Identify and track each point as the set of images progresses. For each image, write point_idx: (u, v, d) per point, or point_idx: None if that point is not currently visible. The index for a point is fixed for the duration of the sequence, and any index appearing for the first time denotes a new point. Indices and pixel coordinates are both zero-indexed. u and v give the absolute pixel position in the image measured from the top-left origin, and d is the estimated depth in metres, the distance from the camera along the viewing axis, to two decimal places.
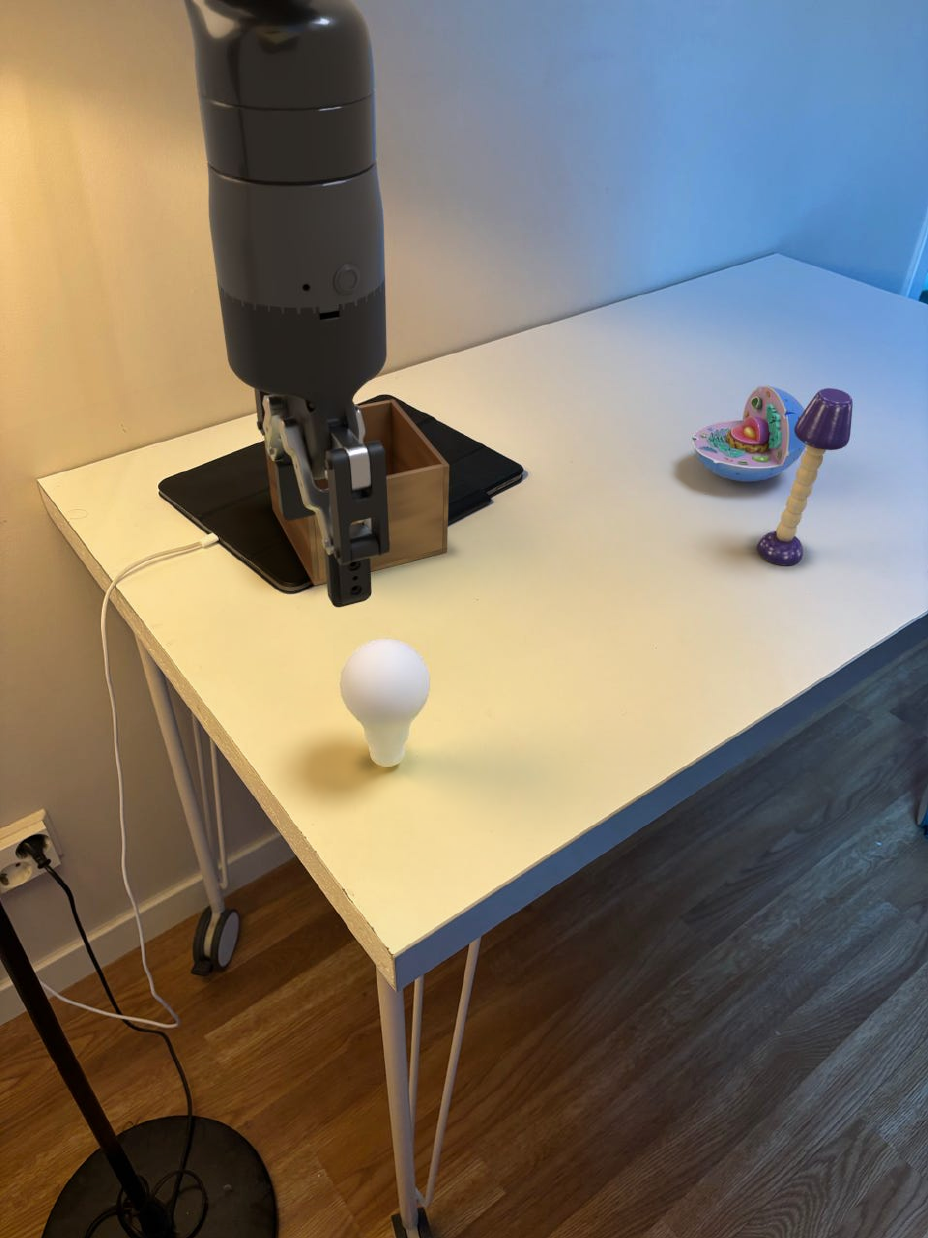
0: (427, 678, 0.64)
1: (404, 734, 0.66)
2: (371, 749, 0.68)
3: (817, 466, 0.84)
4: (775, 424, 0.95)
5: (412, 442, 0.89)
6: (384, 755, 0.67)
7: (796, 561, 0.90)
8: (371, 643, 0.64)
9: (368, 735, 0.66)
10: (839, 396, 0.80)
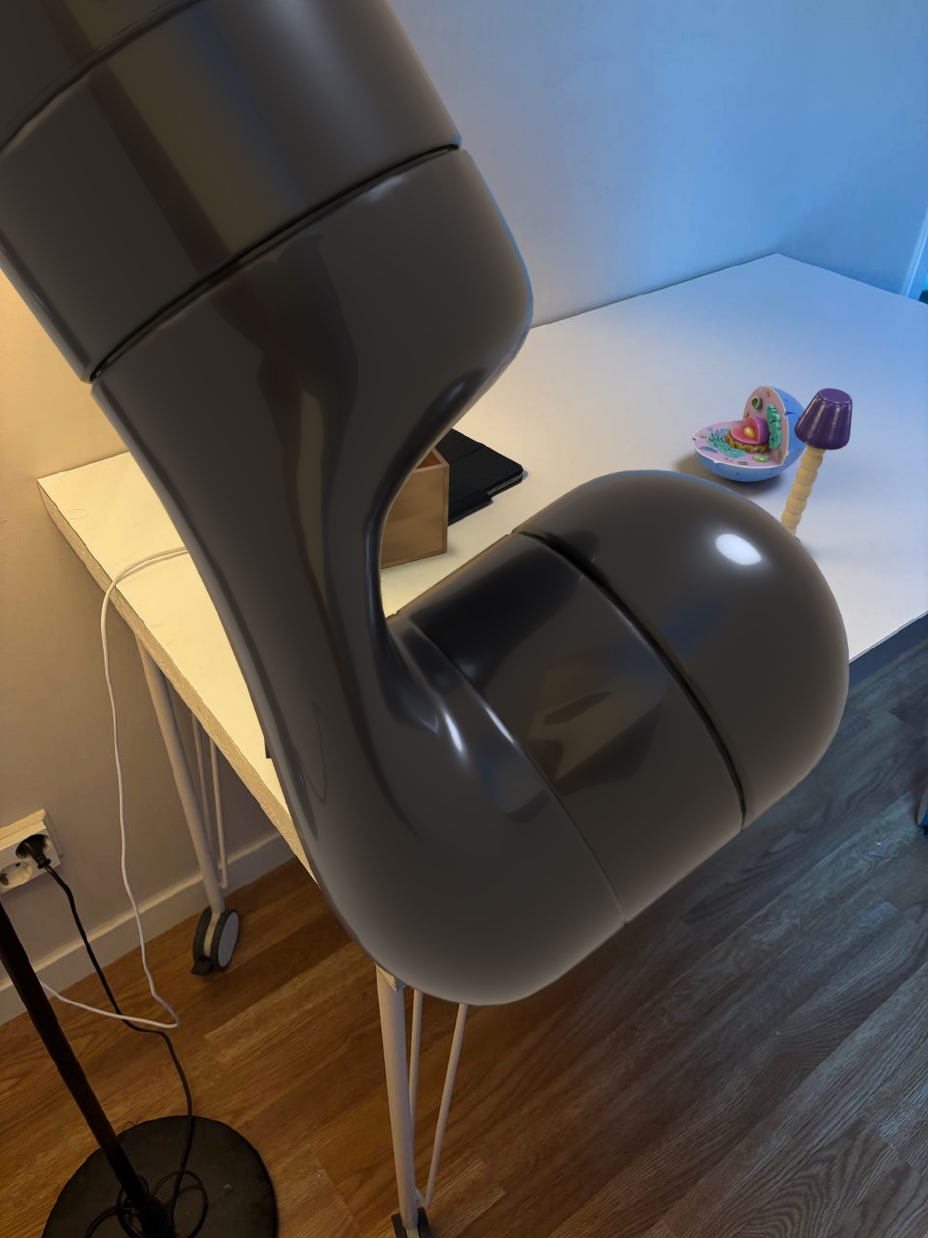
0: None
1: None
2: None
3: (817, 466, 0.84)
4: (775, 424, 0.95)
5: None
6: None
7: None
8: None
9: None
10: (839, 396, 0.80)
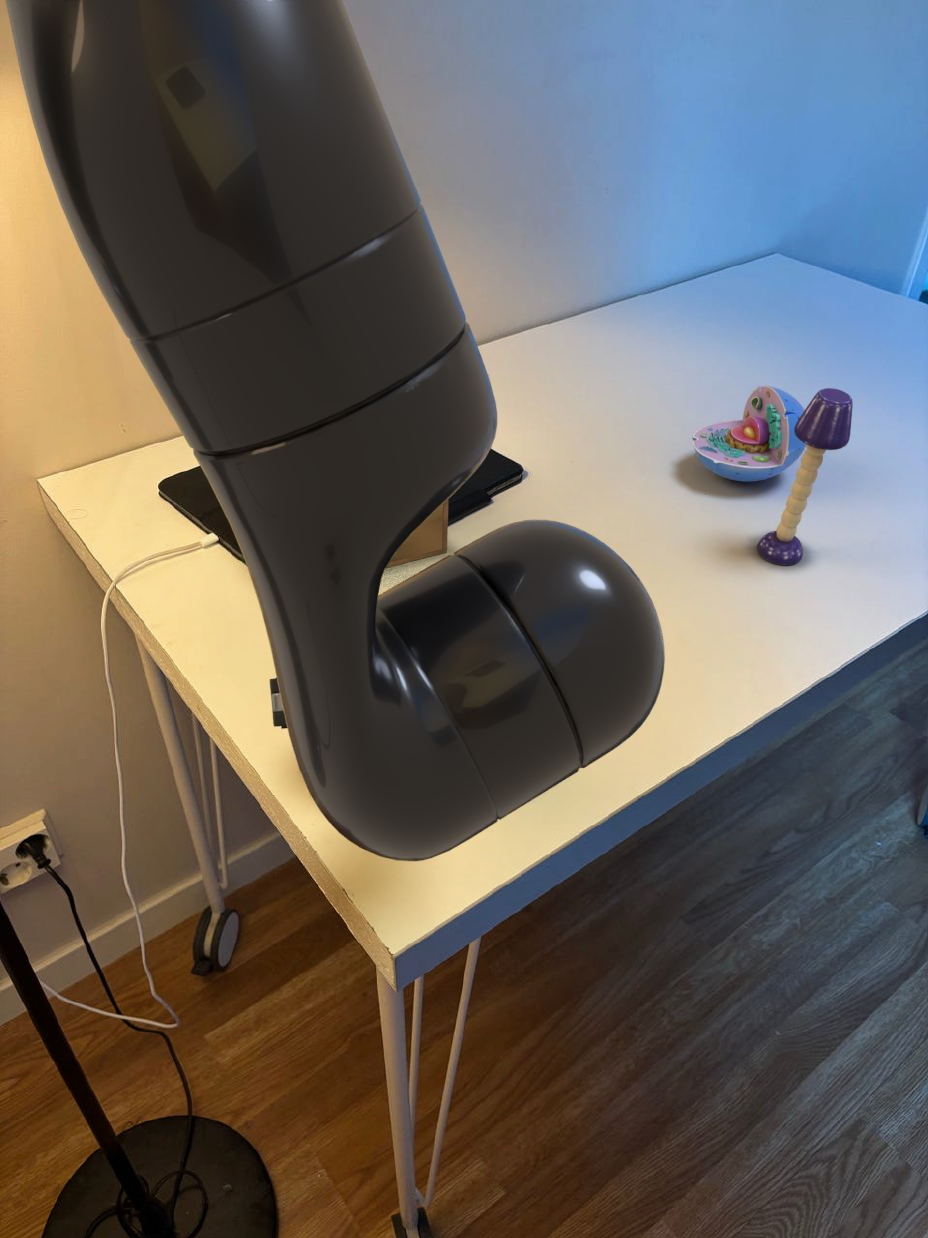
0: None
1: None
2: None
3: (817, 466, 0.84)
4: (775, 424, 0.95)
5: None
6: None
7: (796, 561, 0.90)
8: None
9: None
10: (839, 396, 0.80)
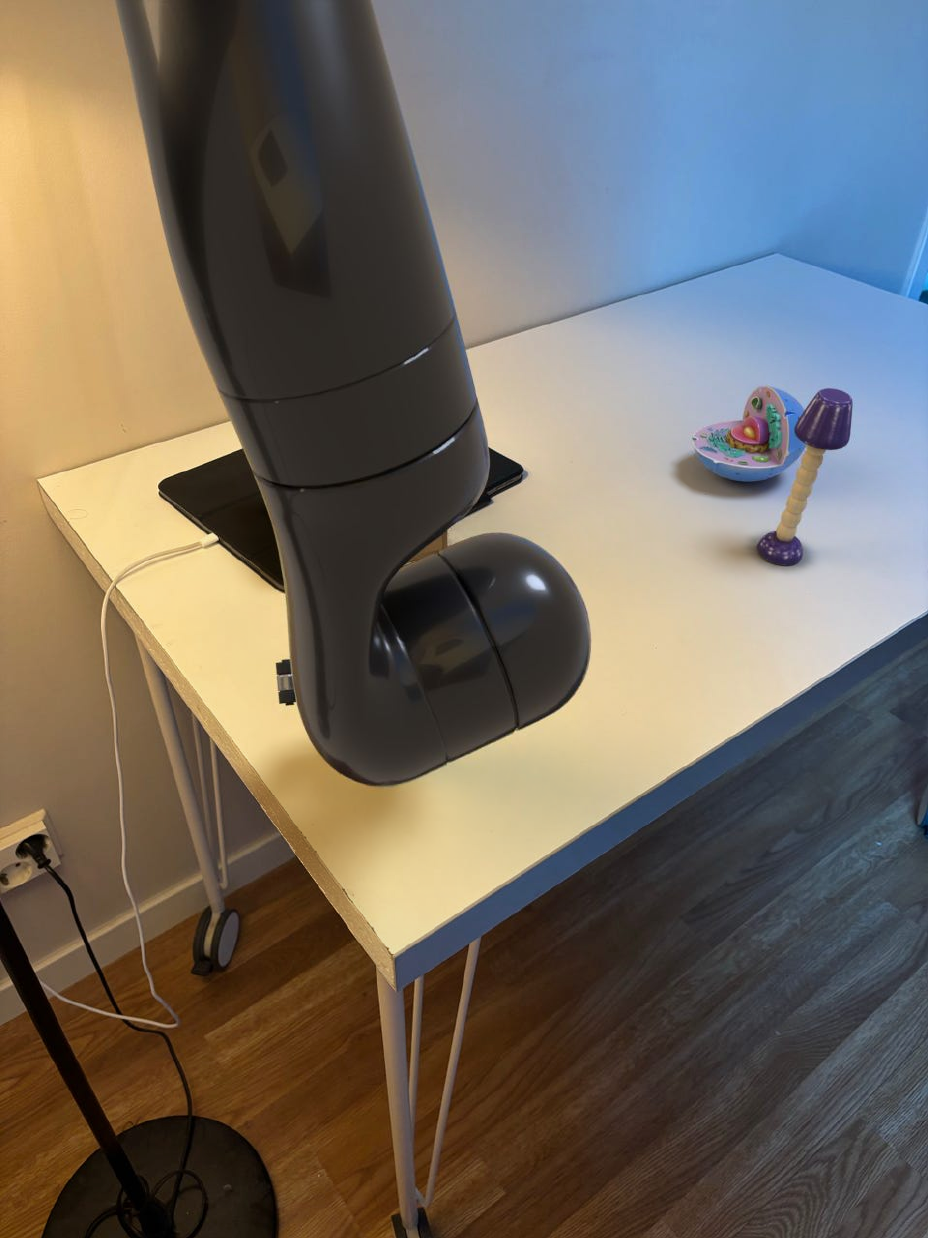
0: None
1: None
2: None
3: (817, 466, 0.84)
4: (775, 424, 0.95)
5: None
6: None
7: (796, 561, 0.90)
8: None
9: None
10: (839, 396, 0.80)
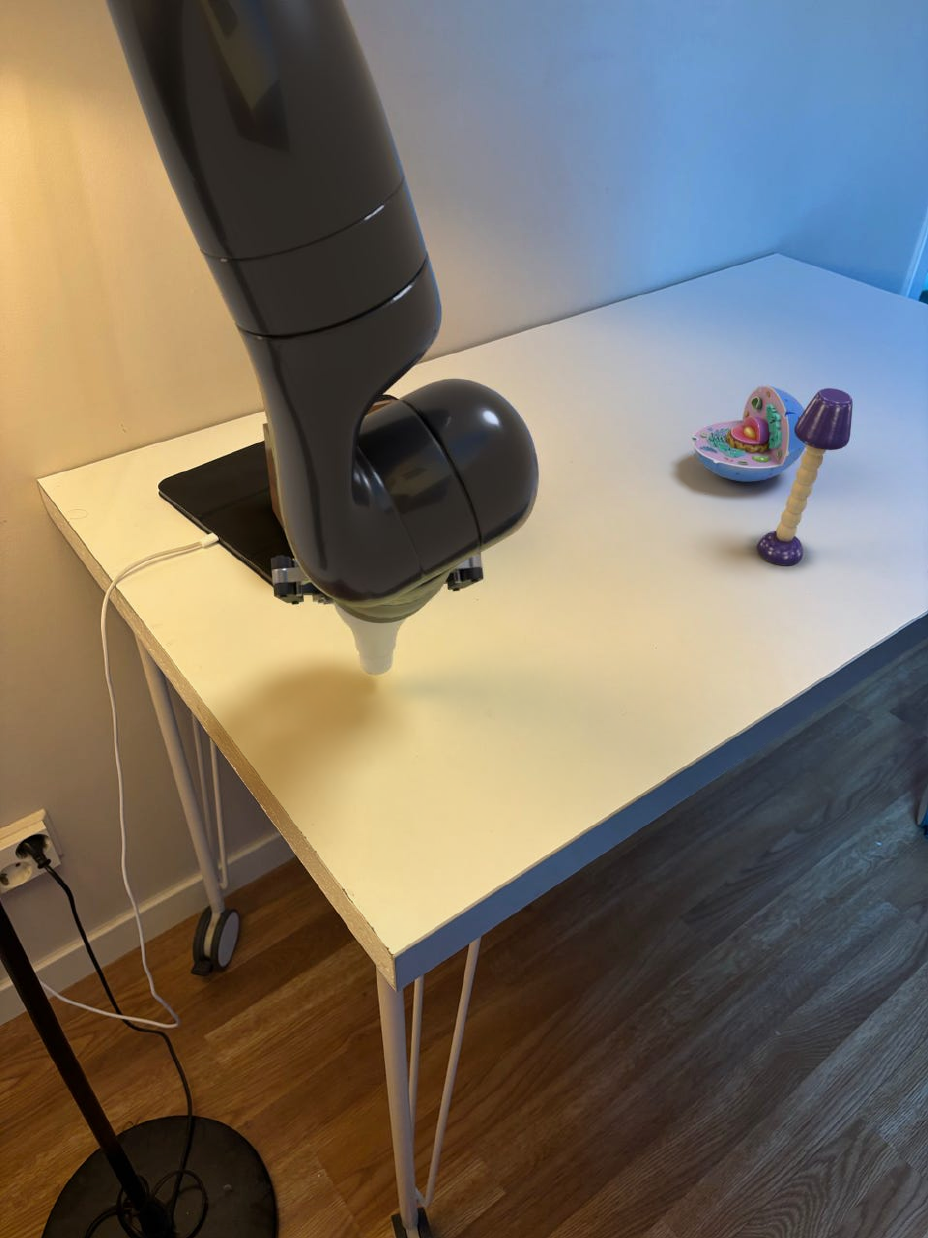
0: None
1: (391, 641, 0.71)
2: (360, 658, 0.73)
3: (817, 466, 0.84)
4: (775, 424, 0.95)
5: None
6: (372, 662, 0.72)
7: (796, 561, 0.90)
8: None
9: (358, 642, 0.71)
10: (839, 396, 0.80)
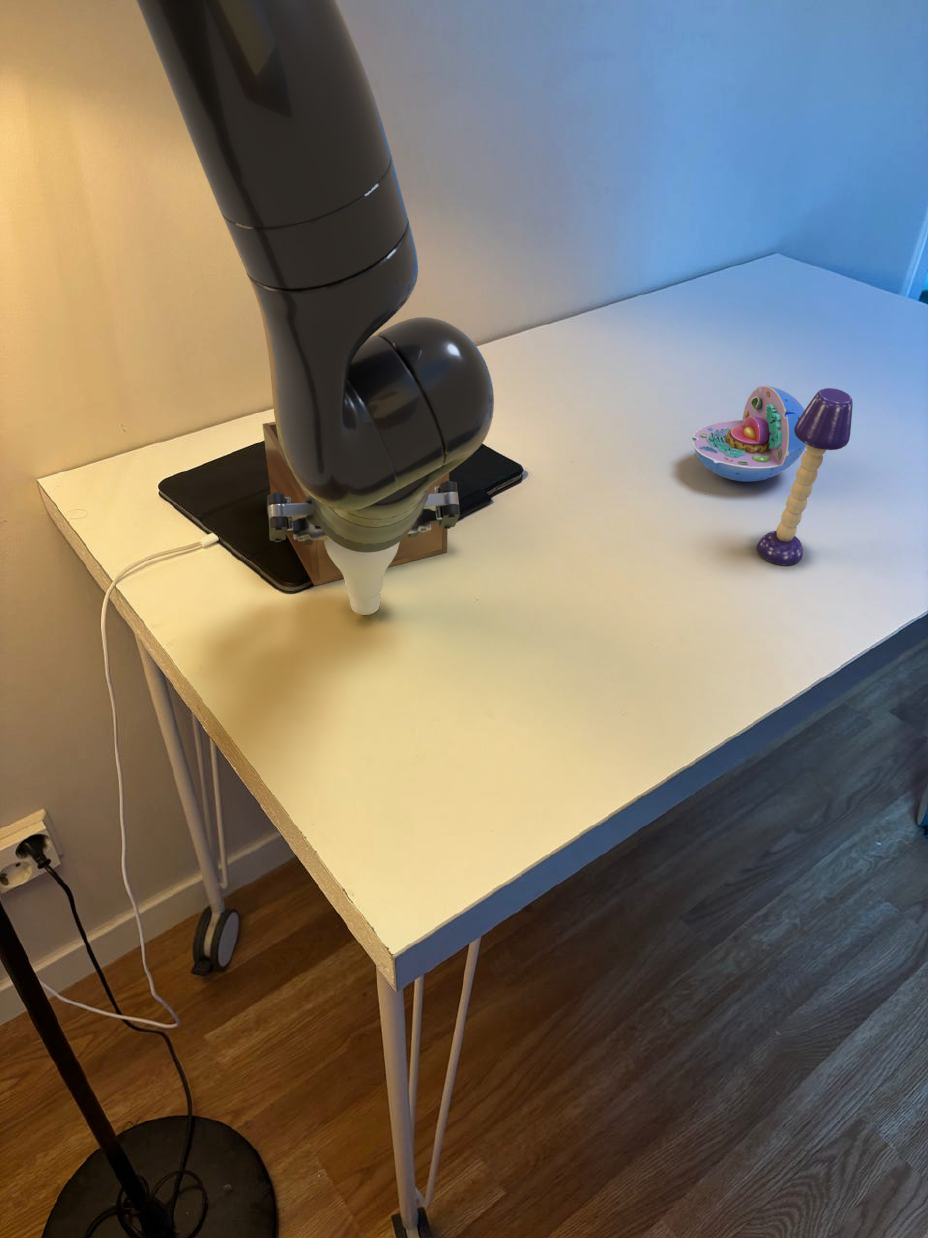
0: None
1: (378, 583, 0.79)
2: (350, 599, 0.81)
3: (817, 466, 0.84)
4: (775, 424, 0.95)
5: None
6: (361, 602, 0.80)
7: (796, 561, 0.90)
8: None
9: (348, 584, 0.79)
10: (839, 396, 0.80)
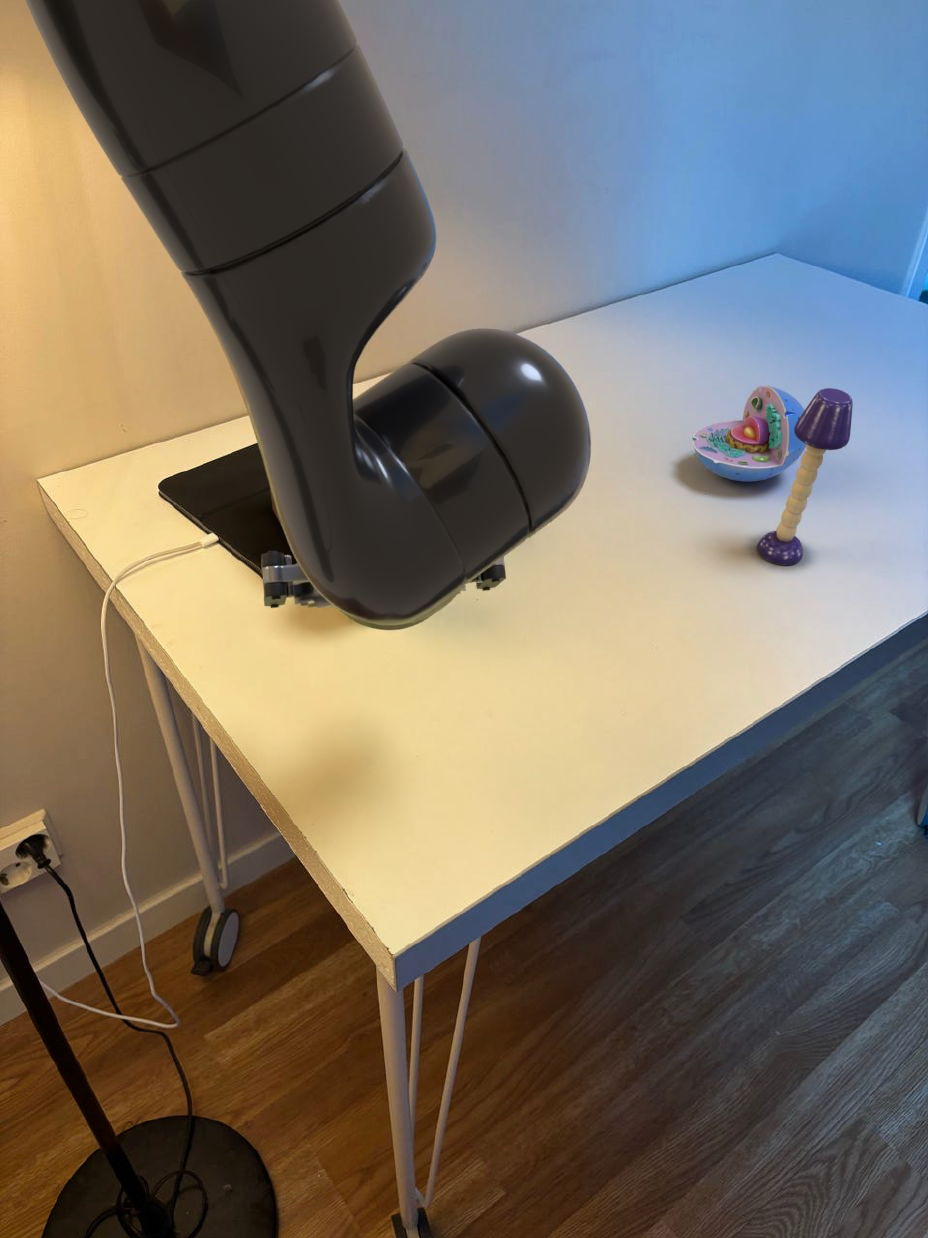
0: None
1: None
2: None
3: (817, 466, 0.84)
4: (775, 424, 0.95)
5: None
6: None
7: (796, 561, 0.90)
8: None
9: None
10: (839, 396, 0.80)
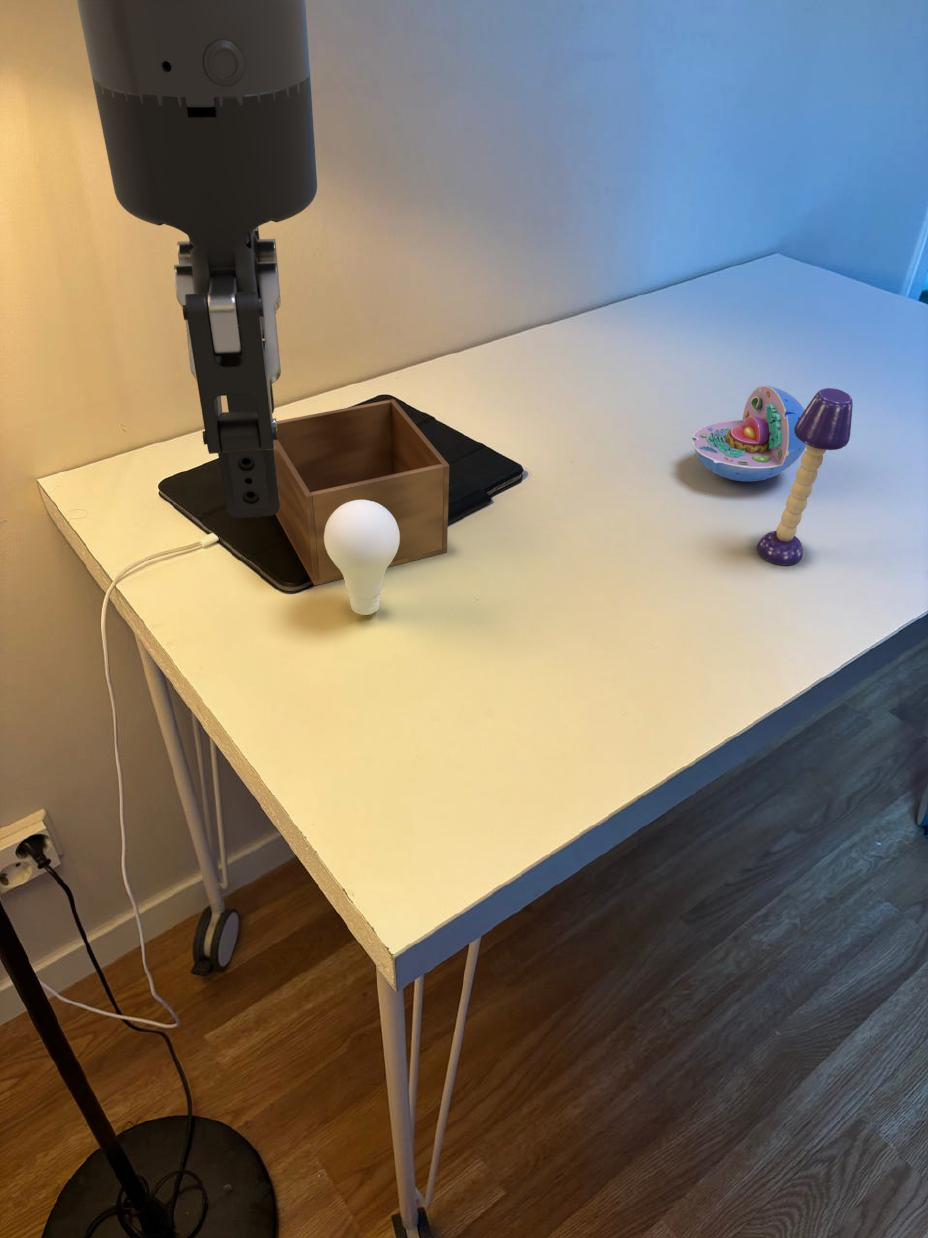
0: (397, 531, 0.76)
1: (378, 583, 0.79)
2: (350, 599, 0.81)
3: (817, 466, 0.84)
4: (775, 424, 0.95)
5: (412, 442, 0.89)
6: (361, 602, 0.80)
7: (796, 561, 0.90)
8: (350, 502, 0.76)
9: (348, 584, 0.79)
10: (839, 396, 0.80)
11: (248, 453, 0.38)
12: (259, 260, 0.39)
